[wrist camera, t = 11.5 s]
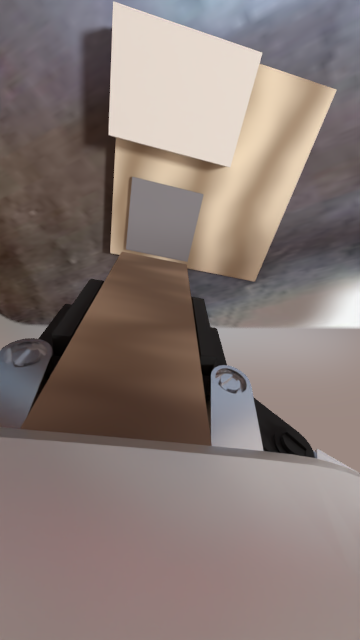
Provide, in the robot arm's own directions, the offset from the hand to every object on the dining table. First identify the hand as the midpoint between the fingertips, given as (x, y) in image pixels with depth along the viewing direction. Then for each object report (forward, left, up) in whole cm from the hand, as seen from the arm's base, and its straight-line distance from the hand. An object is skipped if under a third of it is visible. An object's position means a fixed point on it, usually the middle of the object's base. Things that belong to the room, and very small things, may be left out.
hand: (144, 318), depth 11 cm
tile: (-6, -11, -20) cm, 23 cm away
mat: (0, 0, -21) cm, 21 cm away
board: (-4, -5, -22) cm, 23 cm away
